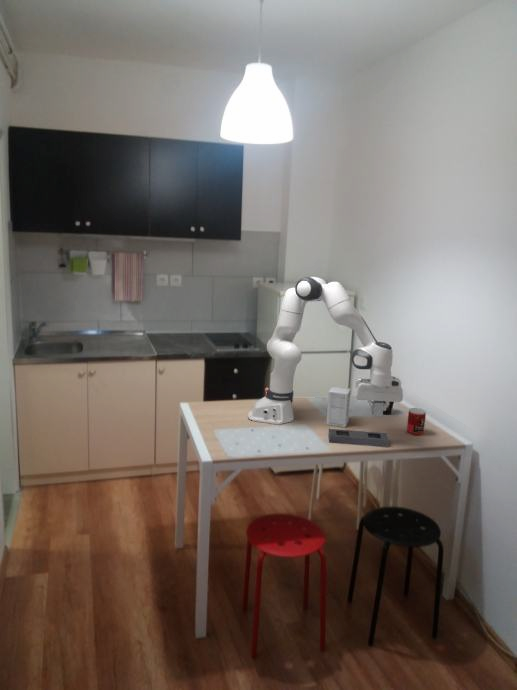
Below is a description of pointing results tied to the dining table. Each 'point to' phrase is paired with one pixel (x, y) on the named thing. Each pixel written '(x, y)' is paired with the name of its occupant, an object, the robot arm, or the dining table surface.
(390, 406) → the coffee mug
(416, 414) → the canned food
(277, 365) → the robot arm
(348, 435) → the grey slotted base block
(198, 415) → the dining table surface
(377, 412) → the nut block
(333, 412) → the supplement box
